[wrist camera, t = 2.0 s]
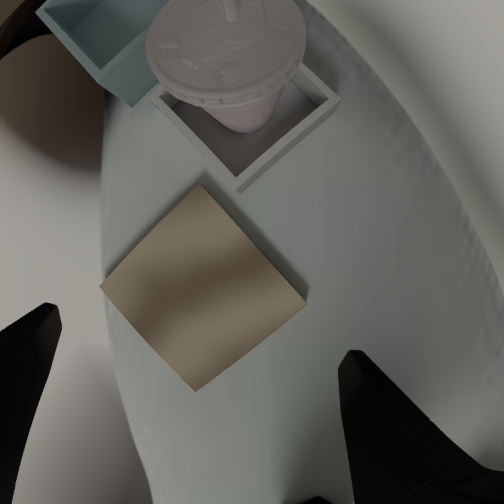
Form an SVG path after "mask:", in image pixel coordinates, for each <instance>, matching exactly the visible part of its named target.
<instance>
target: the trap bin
mask: <svg viewBox="0 0 504 504" xmlns="http://www.w3.org/2000/svg"><path fill="white" fill-rule="evenodd" d="M169 1H170V0H47V1H46V2H45V3H44V4H43V5H42V6H41V7H40V8H39V9H38V10H37V11H36V12H35V13H36V14H37V15H38V16H39V17H40V18H41V20H42V21H43V22H44V23H45V24H46V25H47V26H48V27H49V29H50V30H51V31H52V32H53V33H54V34H55V35H56V36H57V38H58V39H59V40H60V41H61V42H62V43H63V44H64V45H65V47H66V48H67V49H68V50H69V51H70V52H71V53H72V54H73V55H74V57H75V58H76V59H77V60H78V61H79V62H80V63H81V64H82V66H83V67H84V68H85V69H86V70H87V71H88V72H89V74H90V75H91V76H92V77H93V78H94V79H95V80H96V81H97V83H99V84H100V85H102V86H103V87H104V88H106V89H107V90H108V91H110V92H111V93H113V94H114V95H115V96H117V97H118V98H119V99H121V100H122V101H124V102H125V103H126V104H128V105H129V106H130V107H132V106H133V105H134V104H135V103H137V102H138V101H139V100H140V99H141V98H142V97H143V96H144V95H145V94H146V93H147V92H148V91H149V90H150V89H151V88H152V87H153V86H155V85H156V84H157V83H158V82H159V81H158V79H157V78H156V76H155V74H154V73H153V72H152V70H151V68H150V66H149V64H148V61H147V57H146V50H145V44H146V37H147V33H148V30H149V27H150V25H151V23H152V21H153V19H154V18H155V16H156V15H157V13H158V12H159V11H160V10H161V9H162V7H163V6H164V5H165V4H166V3H167V2H169Z"/></svg>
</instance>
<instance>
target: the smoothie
mask: <svg viewBox="0 0 504 504" xmlns="http://www.w3.org/2000/svg"><path fill="white" fill-rule="evenodd" d="M305 48H306V23H305V20H304V17H303V14H302V12H301V10H300V8H299V7H298V5H297V4H296V3H295V1H294V0H170V1H169V2H167V3H166V4H165V5H164V6H163V7H162V9H161V10H160V11H159V12H158V13H157V15H156V16H155V18H154V19H153V21H152V23H151V25H150V27H149V30H148V33H147V37H146V44H145V50H146V57H147V61H148V64H149V66H150V68H151V70H152V72H153V73H154V74H155V76H156V78H157V79H158V81H159V82H160V84H161V85H162V87H163V88H164V89H166V90H167V91H168V92H169V93H171V94H172V95H173V96H174V97H176V98H177V99H180V100H182V101H185V102H187V103H190V104H192V105H194V106H200V107H201V108H203V109H204V110H205V111H207V112H208V113H209V114H210V115H212V116H213V117H214V118H216V119H217V120H218V121H219V122H221V123H222V124H223V125H224V126H226V127H227V128H228V129H230V130H232V131H234V132H238V133H251V132H255V131H257V130H259V129H261V128H263V127H264V126H265V125H266V124H267V123H268V122H269V120H270V119H271V117H272V114H273V112H274V109H275V107H276V104H277V102H278V99H279V97H280V94H281V92H282V89H283V87H284V84H285V83H286V82H288V81H289V80H290V79H291V78H292V77H293V76H294V74H295V73H296V71H297V69H298V68H299V66H300V64H301V63H302V61H303V57H304V53H305Z"/></svg>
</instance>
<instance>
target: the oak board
mask: <svg viewBox="0 0 504 504" xmlns="http://www.w3.org/2000/svg"><path fill="white" fill-rule="evenodd" d="M100 288H101V289H102V290H103V291H104V293H105V294H106V295H107V296H108V298H109V299H110V300H111V301H112V303H113V304H114V305H115V306H116V307H117V309H118V310H119V311H120V312H121V313H122V314H123V316H124V317H125V318H126V319H127V320H128V321H129V323H130V324H131V325H132V326H133V327H134V328H135V329H136V331H137V332H138V333H139V334H140V335H141V336H142V337H143V338H144V339H145V341H146V342H147V343H148V344H149V345H150V346H151V347H152V348H153V349H154V350H155V351H156V352H157V353H158V355H159V356H160V357H161V358H162V359H163V360H164V361H165V362H166V363H167V364H168V365H169V366H170V367H171V368H172V369H173V370H174V371H175V372H176V373H177V374H178V375H179V376H180V377H181V378H182V379H183V380H184V381H185V382H186V383H187V384H188V385H189V386H190V387H191V388H192V389H193V390H194V391H195V392H196V391H197V390H199V389H200V388H201V387H203V386H204V385H205V384H207V383H208V382H210V381H211V380H212V379H214V378H215V377H216V376H218V375H219V374H220V373H222V372H223V371H224V370H226V369H227V368H228V367H230V366H231V365H232V364H234V363H235V362H236V361H237V360H239V359H240V358H241V357H243V356H244V355H245V354H247V353H248V352H249V351H250V350H252V349H253V348H254V347H255V346H257V345H258V344H259V343H261V342H262V341H263V340H264V339H266V338H267V337H268V336H269V335H271V334H272V333H273V332H274V331H276V330H277V329H278V328H279V327H280V326H282V325H283V324H284V323H285V322H287V321H288V320H289V319H290V318H291V317H293V316H294V315H295V314H296V313H297V312H299V311H300V310H301V309H302V308H303V307H305V306H306V305H307V302H306V300H305V299H304V298H303V297H302V296H301V294H300V293H299V292H298V291H297V290H296V289H295V288H294V287H293V285H292V284H291V283H290V282H289V281H288V280H287V279H286V278H285V276H284V275H283V274H282V273H281V272H280V271H279V270H278V269H277V268H276V266H275V265H274V264H273V263H272V262H271V261H270V260H269V259H268V257H267V256H266V255H265V254H264V253H263V252H262V251H261V250H260V248H259V247H258V246H257V245H256V244H255V243H254V242H253V241H252V240H251V238H250V237H249V236H248V235H247V234H246V233H245V232H244V231H243V230H242V228H241V227H240V226H239V225H238V224H237V223H236V222H235V221H234V220H233V218H232V217H231V216H230V215H229V214H228V213H227V212H226V211H225V210H224V208H223V207H222V206H221V205H220V204H219V203H218V202H217V201H216V200H215V198H214V197H213V196H212V195H211V194H210V193H209V192H208V191H207V190H206V188H205V187H204V186H203V185H202V184H198V185H197V186H196V187H195V188H194V189H193V190H192V191H191V192H190V193H189V194H188V195H187V196H186V197H185V198H184V199H182V200H181V201H180V202H179V203H178V204H177V205H176V206H175V207H174V208H173V209H172V210H171V211H170V212H169V213H168V214H167V215H166V216H165V217H164V218H163V219H162V220H161V221H160V222H159V223H158V224H157V225H156V226H155V227H154V228H153V229H152V230H151V231H150V232H149V233H148V234H147V235H146V237H145V238H144V239H143V240H142V241H141V242H140V243H139V244H138V245H137V246H136V247H135V248H134V249H133V250H132V251H131V252H130V253H129V254H128V255H127V256H126V258H125V259H124V260H123V261H122V262H121V263H120V264H119V265H118V266H117V267H116V268H115V269H114V271H113V272H112V273H111V274H110V275H109V276H108V277H107V278H106V279H105V281H104V282H103V283H102V284H101V285H100Z"/></svg>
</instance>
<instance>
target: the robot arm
mask: <svg viewBox="0 0 504 504" xmlns="http://www.w3.org/2000/svg"><path fill="white" fill-rule="evenodd" d="M61 331H62V323H61V319H60V315H59V310H58V307H57V305H54V304H51V303H43V304H42V305H40V306H39V307H37V308H35V309H34V310H32V311H31V312H29V313H28V314H26V315H24V316H23V317H21V318H20V319H18V320H17V321H15V322H14V323H12V324H11V325H9V326H8V327H6V328H5V329H3V330H2V331H0V504H12V499H13V494H14V490H15V485H16V484H15V483H16V480H17V475H18V471H19V467H20V463H21V459H22V455H23V451H24V448H25V445H26V441H27V438H28V435H29V431H30V428H31V425H32V422H33V418H34V415H35V412H36V409H37V406H38V403H39V400H40V398H41V395H42V392H43V389H44V387H45V384H46V381H47V379H48V376H49V373H50V370H51V366H52V362H53V359H54V355H55V351H56V348H57V344H58V341H59V338H60V334H61ZM338 380H339V395H340V409H341V417H342V423H343V429H344V435H345V441H346V447H347V453H348V460H349V466H350V473H351V480H352V487H353V494H354V502H355V504H504V471H496V470H491V469H488V468H485V467H483V466H482V465H480V464H479V463H478V462H476V461H475V460H474V459H473V458H472V457H470V456H469V455H468V454H467V453H466V452H464V451H463V450H462V449H461V448H460V447H459V446H457V445H456V444H455V443H454V442H453V441H452V440H451V439H450V438H448V437H447V436H446V435H445V434H444V433H443V432H442V431H441V430H440V429H439V428H438V427H437V426H436V425H435V424H434V423H433V422H432V421H430V419H429V418H428V417H427V416H426V415H425V414H424V413H423V412H422V411H421V410H420V409H419V408H418V407H417V406H416V405H415V404H414V403H413V402H412V401H411V400H410V398H409V397H408V396H407V395H406V394H405V393H404V392H403V391H402V390H401V389H400V388H399V387H398V386H397V385H396V384H395V383H394V382H393V381H392V380H391V379H390V378H389V377H388V376H387V375H386V374H385V373H384V372H383V371H382V370H381V369H380V368H379V367H378V366H377V365H376V364H375V363H374V362H373V361H372V360H371V359H370V358H369V357H368V356H367V355H366V354H365V353H364V352H363V351H361V350H349V351H348V352H347V354H346V356H345V357H344V359H343V360H342V362H341V364H340V365H339V368H338ZM302 504H331V503H330V502H328V501H327V500H325V499H324V498H322V497H314V498H312V499H310V500H308V501H306V502H304V503H302Z"/></svg>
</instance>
